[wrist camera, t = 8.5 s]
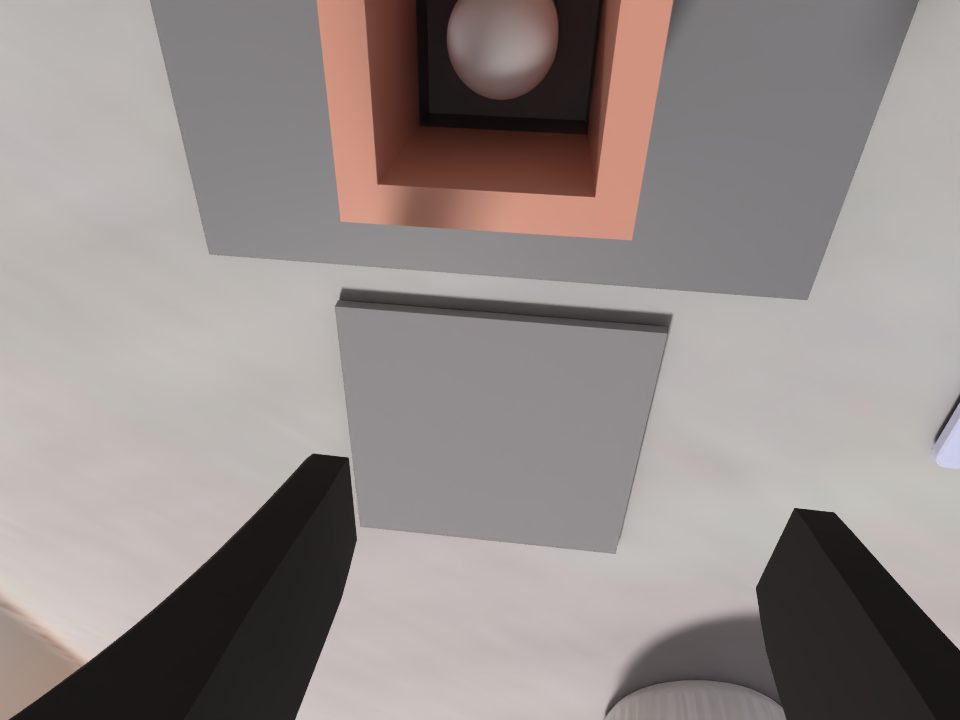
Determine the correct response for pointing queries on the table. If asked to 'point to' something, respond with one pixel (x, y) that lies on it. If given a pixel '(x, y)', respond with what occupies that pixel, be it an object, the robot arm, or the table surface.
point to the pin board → (551, 95)
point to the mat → (495, 421)
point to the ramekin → (696, 703)
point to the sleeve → (486, 130)
